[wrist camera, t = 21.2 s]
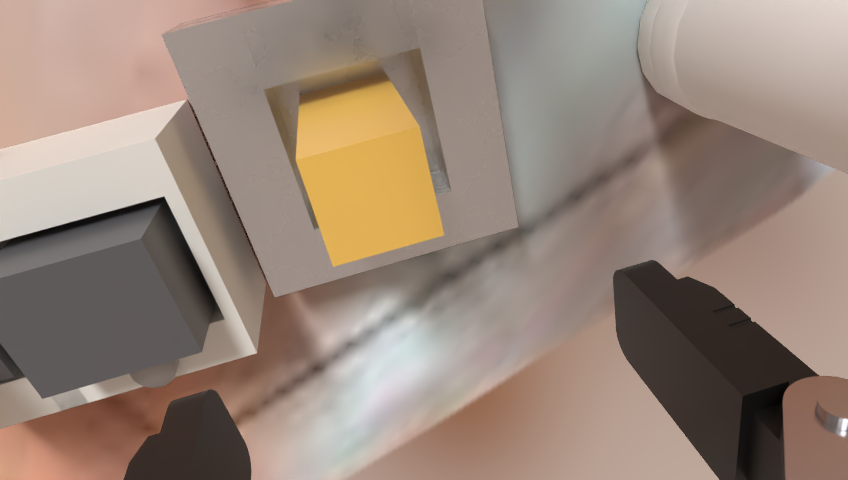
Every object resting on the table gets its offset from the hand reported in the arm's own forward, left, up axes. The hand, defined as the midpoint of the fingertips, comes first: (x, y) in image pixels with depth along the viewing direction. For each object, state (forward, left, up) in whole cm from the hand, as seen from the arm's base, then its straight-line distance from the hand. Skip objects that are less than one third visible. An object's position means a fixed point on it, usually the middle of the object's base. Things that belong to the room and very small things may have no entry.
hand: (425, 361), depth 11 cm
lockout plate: (0, 0, -18) cm, 18 cm away
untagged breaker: (+2, -11, -15) cm, 18 cm away
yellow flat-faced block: (0, 0, -18) cm, 18 cm away
